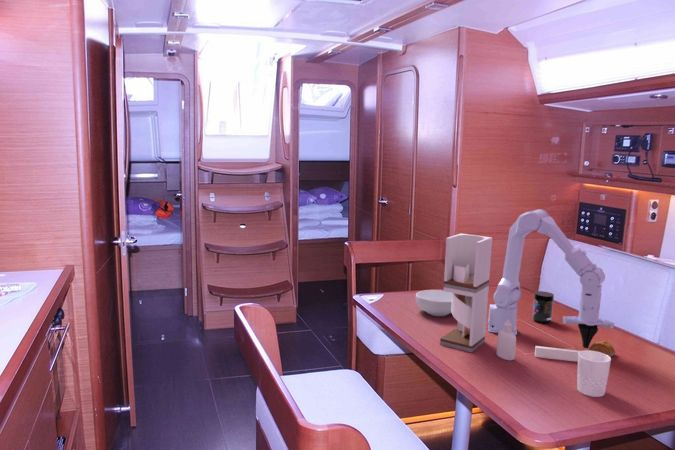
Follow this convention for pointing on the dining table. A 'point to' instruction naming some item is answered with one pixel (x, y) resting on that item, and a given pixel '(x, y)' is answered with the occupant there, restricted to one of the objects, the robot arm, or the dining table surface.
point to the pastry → (603, 348)
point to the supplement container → (543, 307)
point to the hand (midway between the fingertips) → (585, 347)
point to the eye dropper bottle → (506, 342)
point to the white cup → (592, 373)
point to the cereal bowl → (434, 302)
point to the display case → (467, 288)
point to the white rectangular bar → (556, 353)
